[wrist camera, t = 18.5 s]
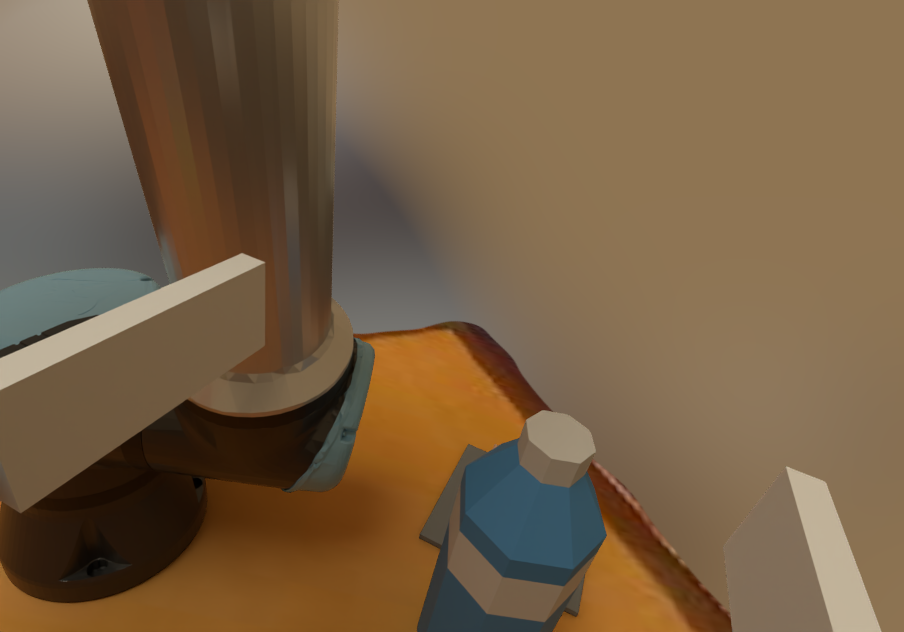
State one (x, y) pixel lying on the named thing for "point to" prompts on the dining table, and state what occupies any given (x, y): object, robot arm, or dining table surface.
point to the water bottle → (518, 533)
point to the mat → (443, 510)
